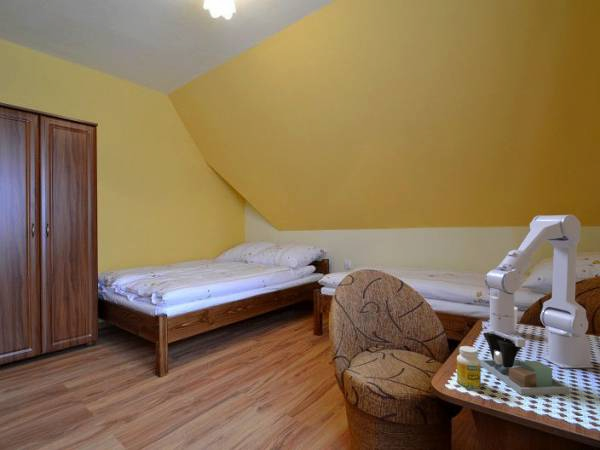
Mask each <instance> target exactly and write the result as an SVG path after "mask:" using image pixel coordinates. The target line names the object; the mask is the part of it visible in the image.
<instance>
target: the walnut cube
mask: <svg viewBox="0 0 600 450" xmlns="http://www.w3.org/2000/svg"><path fill="white" fill-rule="evenodd" d="M509 379H510V380H511V381H513V382H514V383H516V384H517V385H518V386H520V387H521V388H525V387H536V373H534V372H532V371H530V370H528V369H525V368H523V367H521V366H520V367H514V368H509Z"/></svg>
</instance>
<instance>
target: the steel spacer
mask: <svg viewBox="0 0 600 450" xmlns="http://www.w3.org/2000/svg"><path fill="white" fill-rule="evenodd" d="M509 368H511V367H504V366H503V363H502V353H501V349H494V369H496V370H497V371H499V372H502V373H509Z"/></svg>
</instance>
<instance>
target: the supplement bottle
mask: <svg viewBox="0 0 600 450" xmlns="http://www.w3.org/2000/svg"><path fill="white" fill-rule="evenodd" d="M480 360H481V359H480V358H478V350H477V348H476V347H475V348H474V347H472V346H468V345H464V346H460V347H459V354H458V355H457V356H456V383H457V385H458V386H460V387H462V388H464V389H467V390H470V391H471V390H472V391H473V390H474V391H476V390H480V389H481V386H482V385H481V384H482V381H481V379H482V378H481V373H482V372H481V371H482V370H481V369H482V368H481V367H482V366H481V363H480Z"/></svg>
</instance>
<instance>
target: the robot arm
mask: <svg viewBox="0 0 600 450" xmlns="http://www.w3.org/2000/svg"><path fill="white" fill-rule="evenodd" d="M581 229H582V228H581V222H580V220H579V219H578V218H577V217H576V216H575V215H574V214H563V215H562V214H559V215H556V214H555V215H536V216H534V217H533V218H532V220H531V222H530V223H529V230H530V231H529V232H528V234H527V235H526V237H525V238H524V239H523V241H522V242H521V244H520V246H519V247H518V249H513V250H510V251H509V252H508V253H507V255H506V256H505V257H504V258H503V260H502V261H501V262H500V264H499V265H498V266H497V267H496V268H495V269H491V270H490V271H488V272H487V273H486V275H485V278H484V279H483V282H484V285H485V287H486V288H487V294H488V296H489V321H481V322H482V323H481V324H482V325H481V328H482V329H484V330H485V331H486V332H483V333H482V334H483V337H484V338H485V340H486V343H487V345H488V348H489V351H490V354H491V360H494V349H501V353H502V363H503V366H504V367H513V363H514V360H515V359H516V358H517V355H518V353H519V352H520V350H521V349H522V348H525V347H526V338H524V337H522V336H521V335H520V334H519V333H518V332H517V331H516V332H515V325H514V307H515V293H516V292H517V291H519V290H520V287H521V280H522V279H523V275H524V273H525V272H526V271H527V269H528V268H529V267H530V266H531V264H532V262H533V261H532V256H533V254H535V253H536V251H538V249H539V248H540V247H542V245H543V244H544V243H545V242H548V243H549V244H551V246H552V247H553V261H552V263H553V264H552V287H551V289H552V290H551V298H550V299H548V300H546V301H544V302H543V304H542V309H541V313H540V315H539V317H540V322H541V323H542V325H543V326H544V327H545V330H547V354H541V355H540V357H541V358H542V359H544V360H546V361H548V362H550V363H551V364H554V365H555V366H558V367H559V368H561V369H580V368H583V369H584V368H585V369H586V368H587V369H588V368H594V365H593V364H592V362H591V361H592V360H591V359H592V358H591V357H592V356H591V354H592V353H591V350H592V347H591V342H590V339H589V338H588V337H587V335H586V333H587V331H588V330H589V329H588V328H589V321H588V319H587V310H586V309H585V308H584V307H583V306H582V305H580V304H579V303H578V302H577V301H576V278H577V277H576V276H577V253H578V244H579V243H580V242H581Z"/></svg>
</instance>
